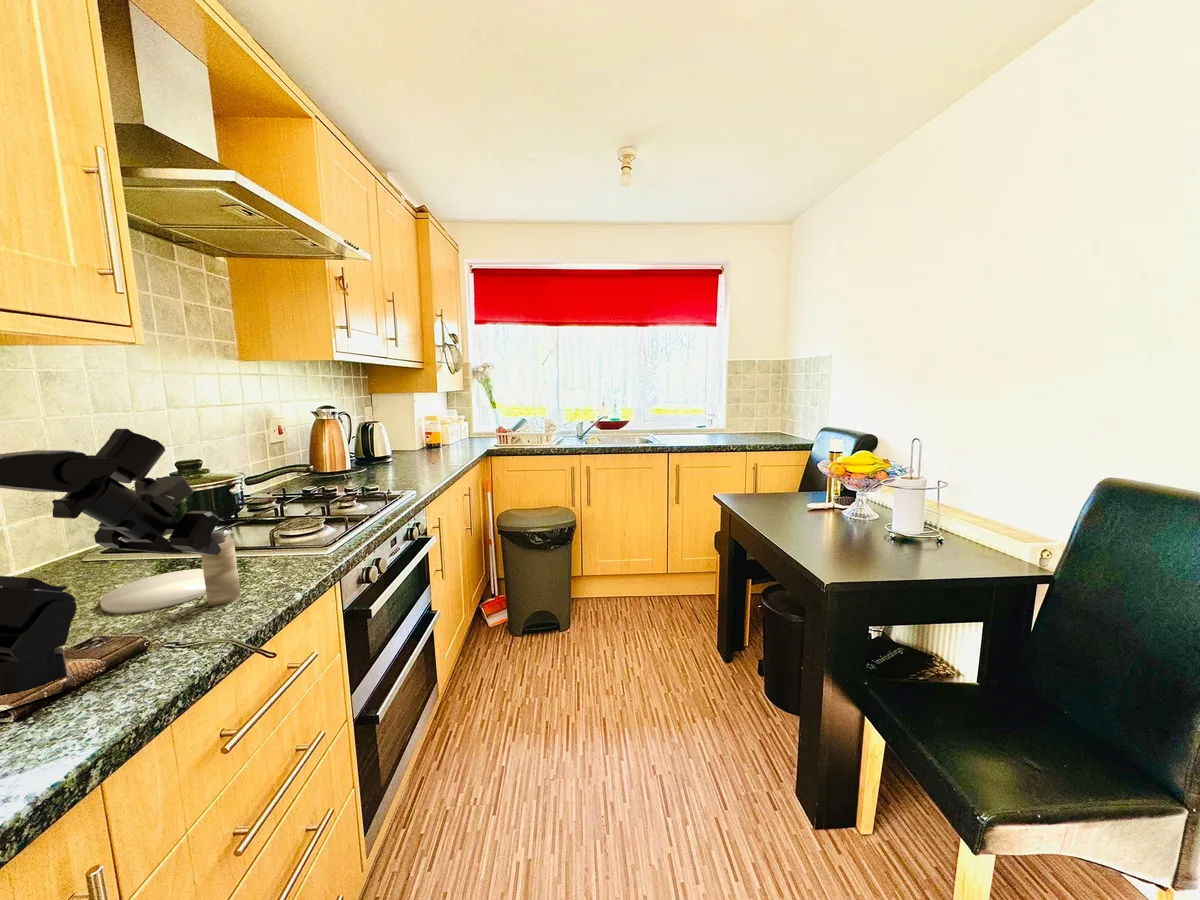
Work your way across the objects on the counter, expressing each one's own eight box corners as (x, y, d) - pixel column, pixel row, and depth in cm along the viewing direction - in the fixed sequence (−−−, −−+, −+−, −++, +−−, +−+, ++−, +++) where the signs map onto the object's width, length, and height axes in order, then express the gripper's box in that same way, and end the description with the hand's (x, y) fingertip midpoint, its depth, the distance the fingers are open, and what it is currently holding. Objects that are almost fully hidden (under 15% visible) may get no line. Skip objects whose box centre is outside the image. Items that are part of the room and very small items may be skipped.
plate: (104, 623, 85) (102, 616, 85) (98, 594, 97) (97, 588, 97) (232, 589, 98) (231, 584, 98) (213, 567, 110) (212, 562, 110)
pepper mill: (210, 607, 90) (201, 538, 89) (205, 599, 94) (195, 532, 92) (243, 598, 94) (235, 531, 92) (237, 591, 97) (229, 526, 96)
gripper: (200, 463, 79) (265, 512, 92) (103, 463, 82) (178, 510, 95) (157, 526, 73) (233, 570, 85) (53, 523, 76) (141, 565, 88)
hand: (196, 551), depth 88 cm, fingers open, 9 cm apart
